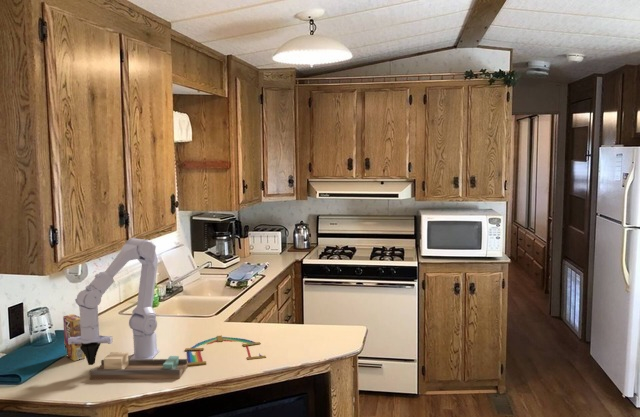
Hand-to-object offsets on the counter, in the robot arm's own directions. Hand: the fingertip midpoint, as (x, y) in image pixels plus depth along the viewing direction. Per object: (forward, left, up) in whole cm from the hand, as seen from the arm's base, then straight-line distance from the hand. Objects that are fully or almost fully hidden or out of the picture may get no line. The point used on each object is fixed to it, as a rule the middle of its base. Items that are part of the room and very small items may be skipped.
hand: (91, 363), depth 184 cm
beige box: (0, +8, -2) cm, 9 cm away
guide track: (0, +16, -3) cm, 17 cm away
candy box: (-16, -14, -4) cm, 21 cm away
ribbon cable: (-24, +40, -4) cm, 47 cm away
